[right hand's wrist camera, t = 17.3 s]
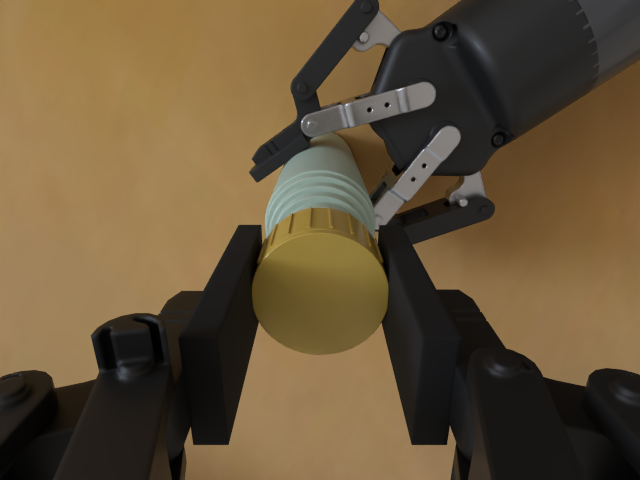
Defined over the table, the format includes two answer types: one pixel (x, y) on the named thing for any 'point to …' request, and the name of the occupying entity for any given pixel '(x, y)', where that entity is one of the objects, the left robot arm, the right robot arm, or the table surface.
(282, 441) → the table surface
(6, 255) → the table surface
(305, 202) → the bottle
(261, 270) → the cap
